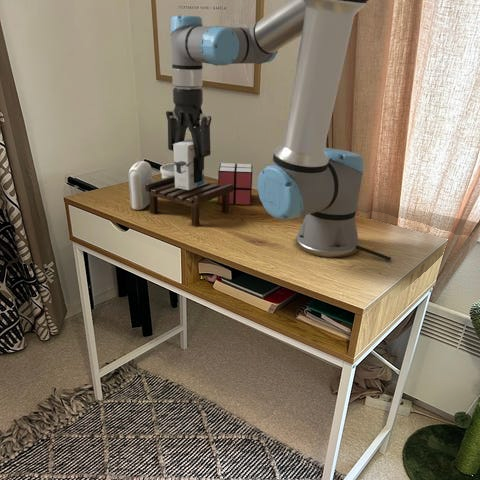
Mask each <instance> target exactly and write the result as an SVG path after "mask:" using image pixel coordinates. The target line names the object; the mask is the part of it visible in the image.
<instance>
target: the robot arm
mask: <svg viewBox="0 0 480 480" xmlns="http://www.w3.org/2000/svg"><path fill="white" fill-rule="evenodd" d="M368 1H369V0H285V1H284V2H283V3H280V5H278V6H277V7H275V8H274V9H273V10H272V11H269V13H267V14H266V15H265V16H263V17H262V18H261V19H260V20H258V21H257V22H255V23H254V24H253V25H251V26H249V27H239V26H237V27H235V26H234V27H232V26H231V27H230V26H219V25H216V26H215V25H214V26H206V25H205V26H203V18H202V17H201V16H199V15H177V14H176V15H173V16H172V17H171V19H170V27H171V28H170V33H169V34H170V46H171V47H170V48H171V49H170V50H171V68H172V69H171V71H172V72H171V74H172V76H171V78H172V85H173V87H174V88H173V89H172V102H173V104H174V108H173V110H166V111H165V116H166V120H167V149H168V150H169V151H172V152H173V153H174V145H173V144H175V143H179V142H182V141H185V139H186V134H187V129H188V131H189V132H190V135H191V139H192V140H193V144H194V149H195V154H196V157H195V158H194V183H197V182H200V181H202V170H204V171H205V158H206V157H209V156H211V123H212V116H211V115H206V114H204V112H203V109H202V105H203V104H204V102H203V101H204V95H203V94H204V93H203V92H204V91H203V88H201V87H202V86H203V69H204V68H203V67H204V66H203V64H207V65H208V64H209V65H213V66H215V67H216V66H217V67H218V66H229V65H237V64H256V65H262V64H264V63H265V64H266V63H271V62H272V61H273V60H275V58H276V56H277V54H278V52H279V50H280V49H283V47H285V46H287V45H289V44H290V43H292V42H293V41H295V40H297V39H298V38H300V43H299V48H298V55H297V59H296V65H295V70H294V76H293V83H292V87H291V88H292V89H291V95H290V101H289V106H288V112H287V118H286V123H285V129H284V134H283V138H282V139H283V141H282V143H281V144H280V145H278V146H277V147H275V149H274V150H273V155H272V161H271V162H272V163H271V165H267V166H266V167H264V168H263V169H262V171H260V172H259V175H258V177H257V193H258V197H259V201H260V202H261V203H262V206H263V208H264V209H265V211H266V212H267V213H268V214H269V215H270V216H271V217H273V218H274V219H276V220H279V221H288V220H297V219H299V218H301V217H303V216H305V217H304V219H303V220H301V226H300V227H299V229H298V232H297V235H296V242H295V243H296V246H297V247H298V248H299V249H300V250H301V251H302V252H305V253H307V254H311V255H313V256H316V257H317V256H318V257H324V258H343V257H344V258H345V257H348V256H349V257H350V256H352V255H353V254H356V253H357V251H361V252H365V253H367V254H370V255H373V256H375V257H378V258H380V259H383V260H386V261H391V259H392V257H391V256H388V255H385V254H383V253H380V252H377V251H374V250H372V249H369V248H366V247H364V246H360V245H359V235H358V229H357V222H356V214H357V208H358V202H359V196H360V190H361V185H362V180H363V175H364V162H365V160H364V158H363V156H362V155H360V154H358V153H356V152H353V151H348V150H343V149H340V148H339V149H338V148H330V147H326V143H327V138H328V133H329V130H330V125H331V121H332V116H333V112H334V109H335V108H334V107H335V103H336V99H337V95H338V89H339V85H340V82H341V81H340V80H341V76H342V73H343V72H342V71H343V67H344V63H345V59H346V56H347V55H346V54H347V50H348V46H349V41H350V37H351V32H352V27H353V23H354V20H355V15H356V14H357V13H358V12H359V11H360V10H361V9H363V8H364V7H365V6H367V2H368Z"/></svg>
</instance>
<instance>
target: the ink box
mask: <svg viewBox="0 0 480 480" xmlns="http://www.w3.org/2000/svg"><path fill="white" fill-rule="evenodd" d="M172 145H174V152H173V163H174V170H175V188H179V189H184V190H191V189H193V188H195V187H197V186H199V185H201V184H203V183H204V182H205V169H204V170H202V181H200V182H197V183H194V158H195V157H196V154H195V149H194V144H193V140H192V138H189V139H186V140H185V139H184V141H182V142H179V143H175V144H172Z"/></svg>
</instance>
